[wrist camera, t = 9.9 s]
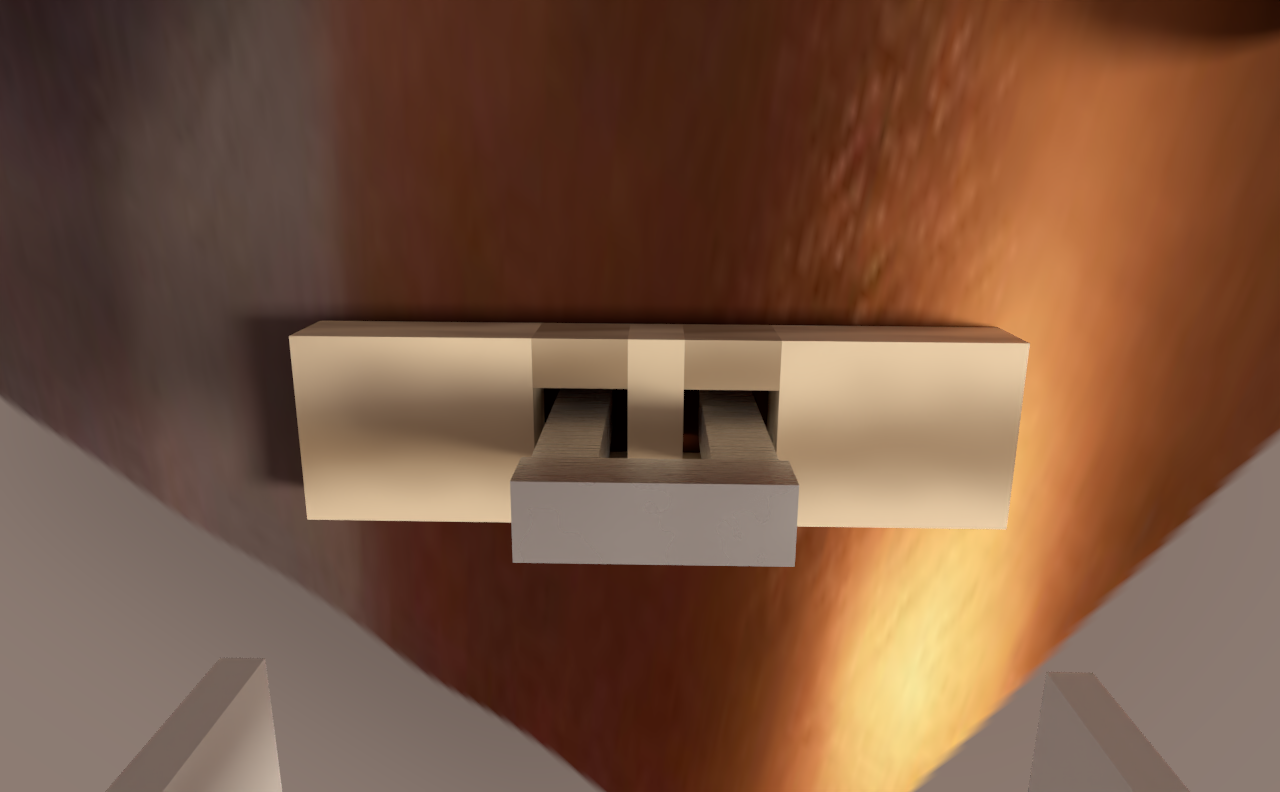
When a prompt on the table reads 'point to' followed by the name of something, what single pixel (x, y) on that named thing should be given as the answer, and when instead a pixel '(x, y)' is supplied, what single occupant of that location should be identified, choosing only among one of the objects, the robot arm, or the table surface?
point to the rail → (660, 412)
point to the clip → (654, 491)
